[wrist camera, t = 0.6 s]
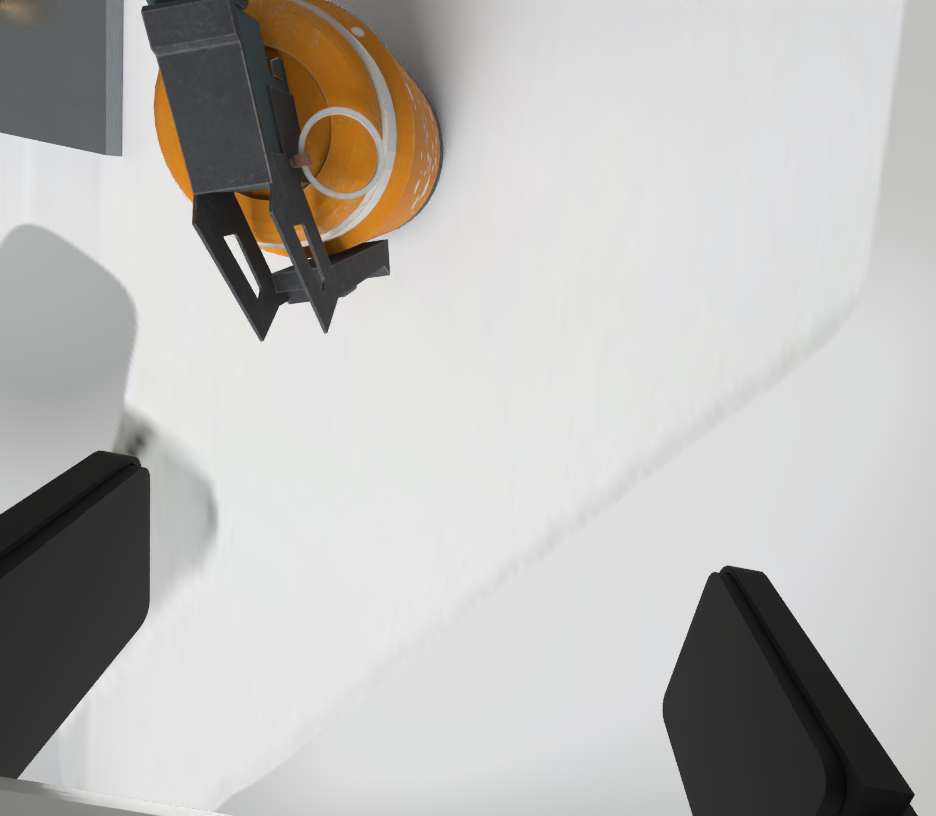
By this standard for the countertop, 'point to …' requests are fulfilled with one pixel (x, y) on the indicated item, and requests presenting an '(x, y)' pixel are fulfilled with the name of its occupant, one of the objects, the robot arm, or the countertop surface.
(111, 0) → the grey plate with peg
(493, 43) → the countertop surface
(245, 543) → the countertop surface
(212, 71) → the canister
